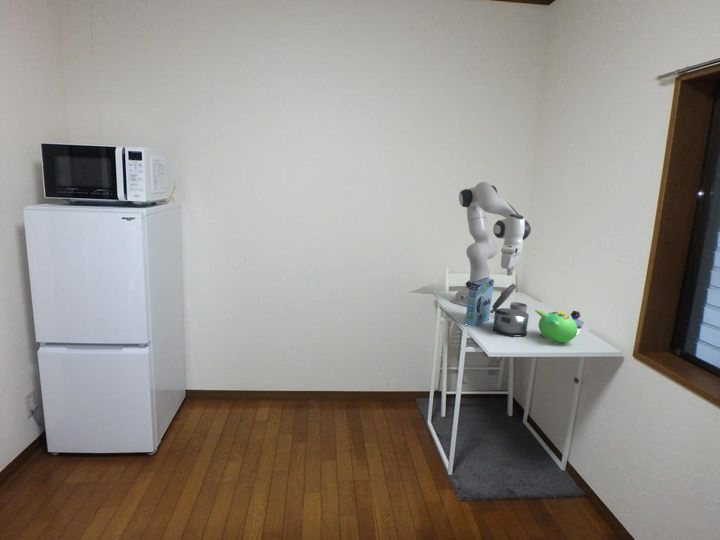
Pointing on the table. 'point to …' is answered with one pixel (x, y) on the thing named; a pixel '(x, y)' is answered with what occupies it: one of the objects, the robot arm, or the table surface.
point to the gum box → (479, 301)
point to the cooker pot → (510, 322)
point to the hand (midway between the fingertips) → (509, 275)
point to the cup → (518, 306)
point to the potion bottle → (575, 317)
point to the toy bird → (557, 326)
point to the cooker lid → (503, 297)
